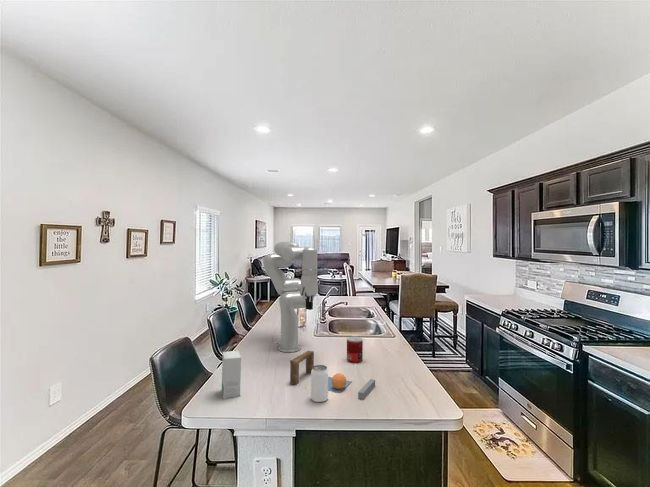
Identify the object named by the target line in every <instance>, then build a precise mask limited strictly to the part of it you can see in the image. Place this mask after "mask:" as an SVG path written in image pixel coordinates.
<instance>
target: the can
mask: <svg viewBox="0 0 650 487" xmlns="http://www.w3.org/2000/svg"><path fill="white" fill-rule="evenodd" d="M328 377H329V370H328V366H326V365H324V364H316V365H314V366H313V367H312V371H311V374H310V379H311V380H310V382H311V383H310V398H311V401H313V402H315V403H324V402H326V401H327V400H328V398H329V391H328Z"/></svg>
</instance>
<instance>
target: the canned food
mask: <svg viewBox="0 0 650 487" xmlns="http://www.w3.org/2000/svg"><path fill="white" fill-rule="evenodd" d="M363 341H364V340H363V338H362V337H360V336H349V337H347V338H346V360H347V362H349V363H352V364H358V363H362V361H363V359H364V358H363V355H364V354H363V350H364V348H363V347H364V344H363V343H364V342H363Z"/></svg>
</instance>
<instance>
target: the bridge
mask: <svg viewBox="0 0 650 487" xmlns="http://www.w3.org/2000/svg"><path fill="white" fill-rule="evenodd" d="M314 351H315V350H314ZM314 351H313V350H307V351H305V352H303V353H301V354H299V355H297V356H296V357H294V358H293V359H291V360H290V361H289V366H290V367H289V368H290V369H289V376H290V377H289V382H290V384H291V385H293V386H294V385H295V386H297V385H299V383H300V382H299V380H300V369H299V368H300V363H301V362H303V361H304V360H305V374H309V375H311V371H312V367H313V366H315V365H314V364H315V363H314V361H315V360H314V359H315V355H314V353H315V352H314Z"/></svg>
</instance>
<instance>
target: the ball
mask: <svg viewBox="0 0 650 487" xmlns="http://www.w3.org/2000/svg"><path fill="white" fill-rule="evenodd" d="M346 380H347V377H346V376H345V374H342V373H335V374H334V375H332V385H333V386H334V387H335V388H336V389H342V388H344V387H345V385H346Z"/></svg>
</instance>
